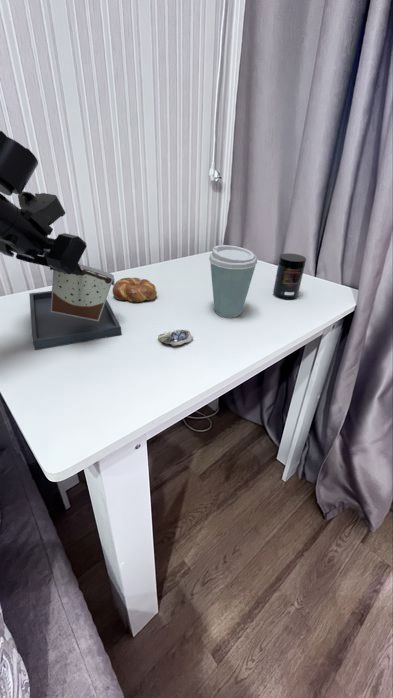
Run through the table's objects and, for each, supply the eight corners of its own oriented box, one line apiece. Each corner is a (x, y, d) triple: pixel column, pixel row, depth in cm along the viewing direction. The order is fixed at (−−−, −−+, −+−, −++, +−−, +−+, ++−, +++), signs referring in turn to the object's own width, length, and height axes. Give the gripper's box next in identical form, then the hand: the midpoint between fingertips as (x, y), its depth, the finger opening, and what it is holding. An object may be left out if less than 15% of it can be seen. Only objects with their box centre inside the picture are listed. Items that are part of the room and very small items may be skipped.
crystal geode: (152, 342, 67) (151, 334, 66) (171, 326, 73) (171, 318, 72) (181, 351, 64) (181, 343, 63) (199, 333, 70) (199, 326, 69)
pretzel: (166, 294, 87) (166, 280, 85) (140, 308, 80) (139, 294, 78) (132, 283, 93) (131, 270, 91) (103, 296, 85) (102, 282, 83)
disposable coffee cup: (250, 305, 84) (258, 245, 76) (249, 325, 75) (259, 259, 67) (208, 301, 85) (212, 241, 77) (203, 320, 76) (206, 255, 68)
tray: (34, 350, 63) (32, 341, 62) (31, 300, 81) (29, 293, 80) (121, 334, 69) (120, 326, 68) (100, 292, 87) (99, 285, 86)
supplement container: (292, 290, 93) (300, 253, 88) (301, 300, 88) (310, 261, 82) (269, 290, 92) (275, 253, 87) (277, 300, 87) (284, 261, 81)
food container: (103, 315, 75) (112, 272, 73) (105, 322, 70) (116, 276, 67) (44, 303, 70) (52, 256, 68) (42, 310, 65) (51, 259, 62)
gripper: (68, 182, 49) (123, 243, 63) (-8, 171, 57) (57, 228, 71) (33, 247, 47) (98, 294, 61) (-40, 226, 55) (32, 273, 69)
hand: (70, 269), depth 66 cm, fingers closed on food container, 5 cm apart
